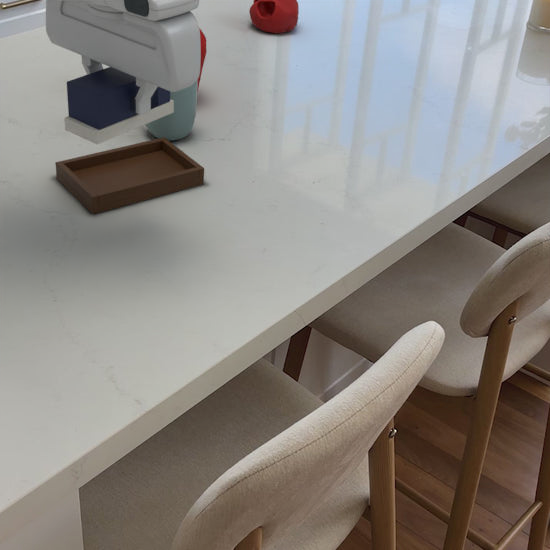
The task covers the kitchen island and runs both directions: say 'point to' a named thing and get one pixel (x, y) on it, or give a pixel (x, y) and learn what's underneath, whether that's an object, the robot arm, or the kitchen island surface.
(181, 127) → the cup
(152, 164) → the wooden tray
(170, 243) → the kitchen island surface
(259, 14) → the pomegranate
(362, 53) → the kitchen island surface
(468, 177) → the kitchen island surface
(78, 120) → the whiteboard eraser
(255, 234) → the kitchen island surface
